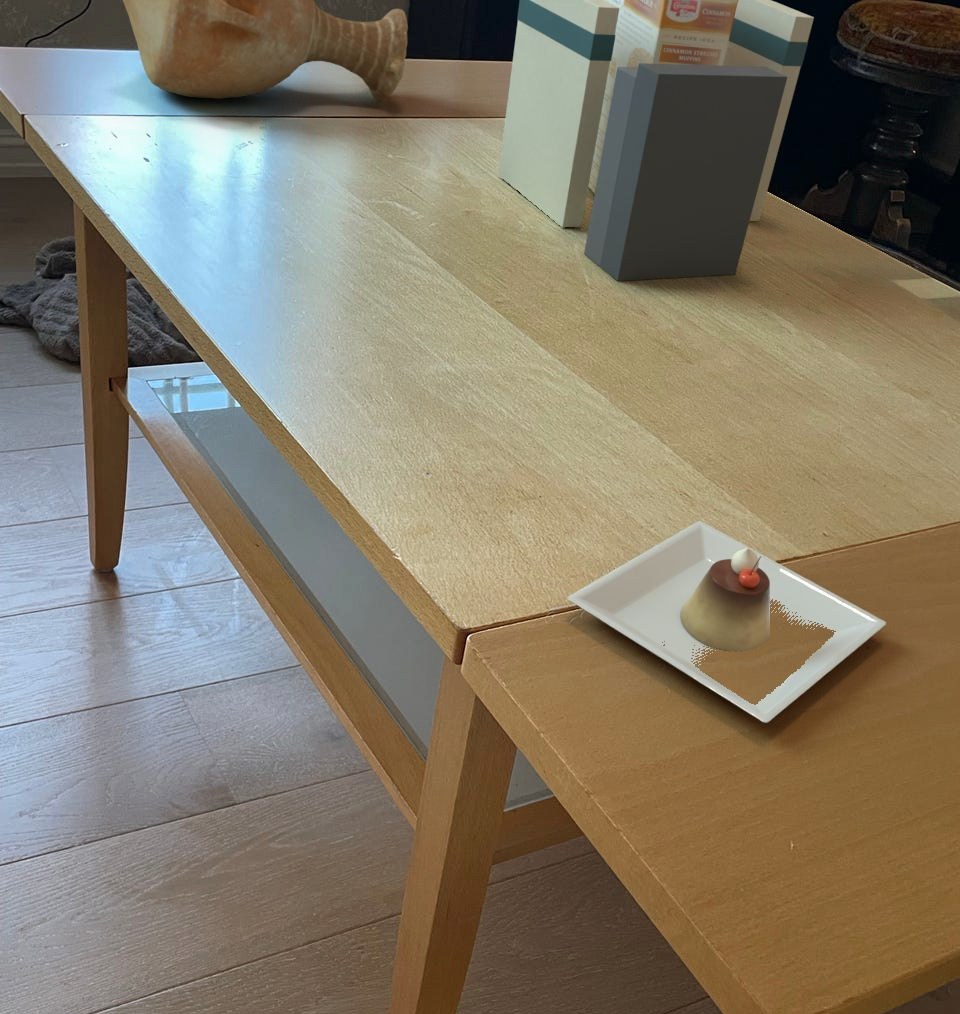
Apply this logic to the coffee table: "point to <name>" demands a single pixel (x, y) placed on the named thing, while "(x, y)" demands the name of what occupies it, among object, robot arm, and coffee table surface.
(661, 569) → the dessert
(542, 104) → the cream books
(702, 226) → the grey books
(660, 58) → the coffeecake box
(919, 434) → the coffee table surface
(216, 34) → the jug
